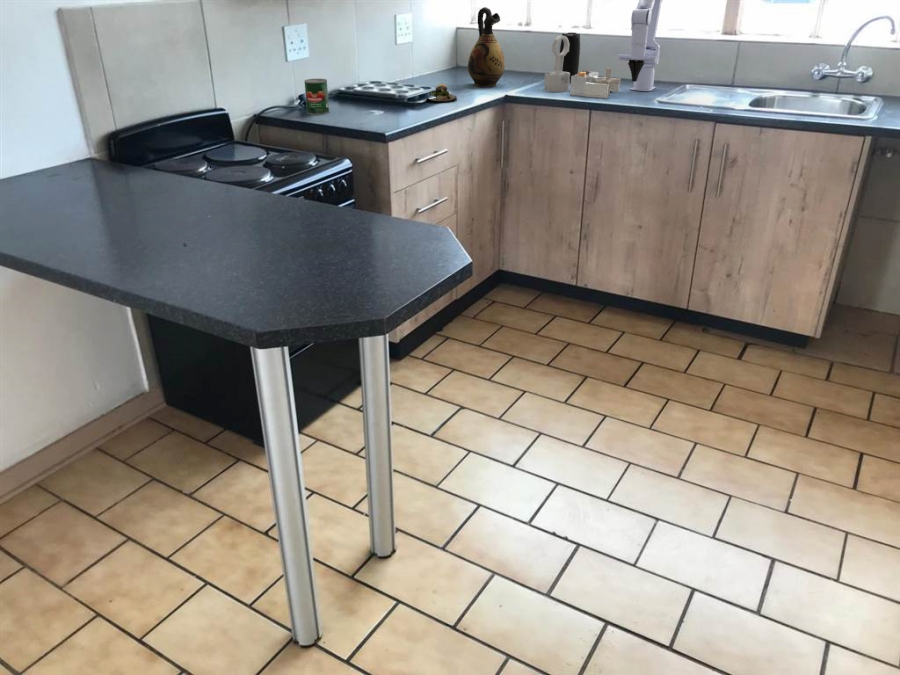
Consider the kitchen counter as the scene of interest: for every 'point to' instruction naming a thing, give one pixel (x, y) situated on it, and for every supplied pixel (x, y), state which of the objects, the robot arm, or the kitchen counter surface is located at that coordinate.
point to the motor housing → (590, 85)
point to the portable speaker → (571, 54)
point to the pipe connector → (608, 79)
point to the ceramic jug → (486, 53)
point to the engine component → (558, 69)
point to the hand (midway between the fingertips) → (634, 81)
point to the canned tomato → (316, 96)
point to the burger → (442, 94)
